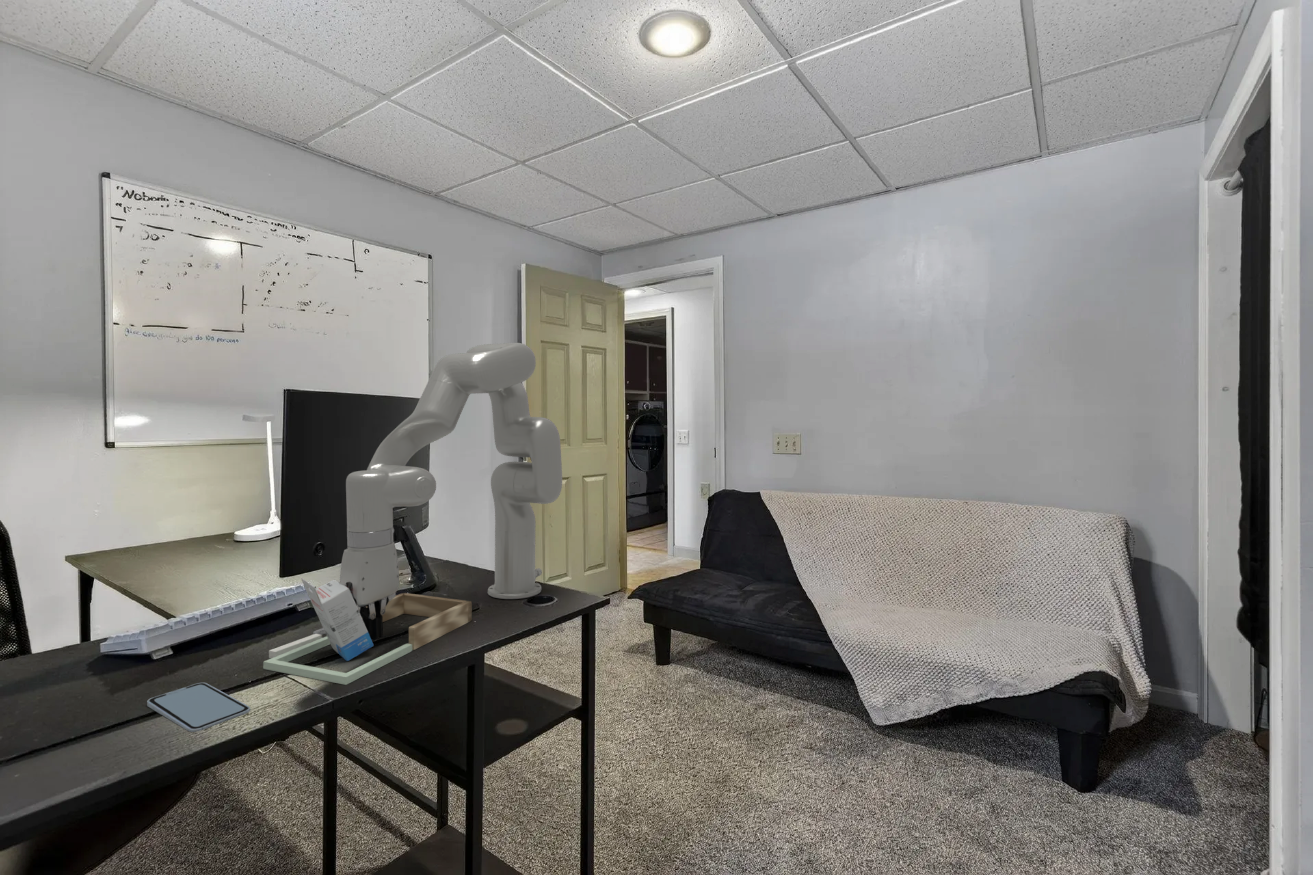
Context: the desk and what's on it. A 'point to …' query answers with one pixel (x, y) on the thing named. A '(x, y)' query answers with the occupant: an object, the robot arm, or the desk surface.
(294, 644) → the stick
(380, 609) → the robot arm
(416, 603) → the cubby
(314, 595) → the ink box
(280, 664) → the frame
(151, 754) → the desk surface
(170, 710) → the smartphone
